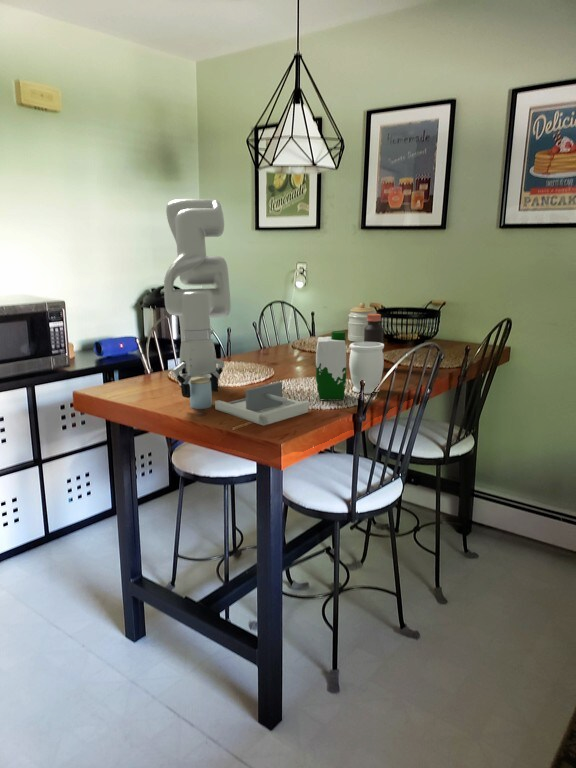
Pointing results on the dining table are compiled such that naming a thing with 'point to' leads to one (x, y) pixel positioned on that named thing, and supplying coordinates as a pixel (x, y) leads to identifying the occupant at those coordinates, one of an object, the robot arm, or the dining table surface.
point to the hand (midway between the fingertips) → (200, 394)
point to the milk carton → (331, 366)
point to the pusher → (264, 397)
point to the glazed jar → (200, 393)
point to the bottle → (373, 329)
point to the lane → (263, 411)
